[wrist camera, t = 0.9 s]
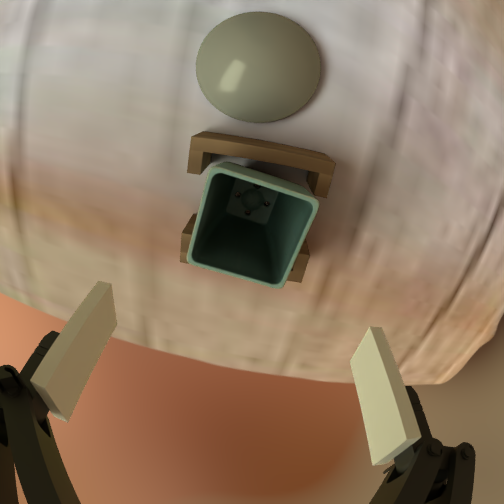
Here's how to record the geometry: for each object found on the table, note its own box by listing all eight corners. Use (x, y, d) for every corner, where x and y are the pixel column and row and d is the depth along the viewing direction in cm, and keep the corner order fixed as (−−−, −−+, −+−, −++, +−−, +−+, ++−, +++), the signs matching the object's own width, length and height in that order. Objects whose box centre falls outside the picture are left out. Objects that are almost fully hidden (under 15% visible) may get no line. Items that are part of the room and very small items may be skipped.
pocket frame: (203, 131, 27) (191, 136, 23) (324, 153, 28) (335, 163, 23) (190, 240, 33) (179, 262, 29) (296, 258, 34) (301, 282, 30)
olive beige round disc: (209, 8, 21) (207, 6, 20) (328, 27, 21) (329, 25, 20) (189, 113, 26) (187, 114, 26) (306, 133, 27) (307, 133, 26)
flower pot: (306, 173, 29) (322, 201, 21) (278, 244, 33) (281, 291, 25) (225, 147, 28) (210, 164, 20) (204, 222, 32) (184, 263, 24)
